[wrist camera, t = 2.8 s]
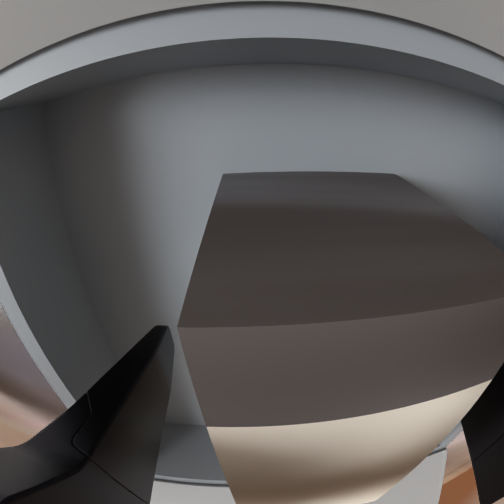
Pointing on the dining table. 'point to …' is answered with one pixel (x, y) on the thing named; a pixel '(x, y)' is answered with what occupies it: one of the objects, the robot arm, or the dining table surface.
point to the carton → (216, 162)
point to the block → (336, 331)
